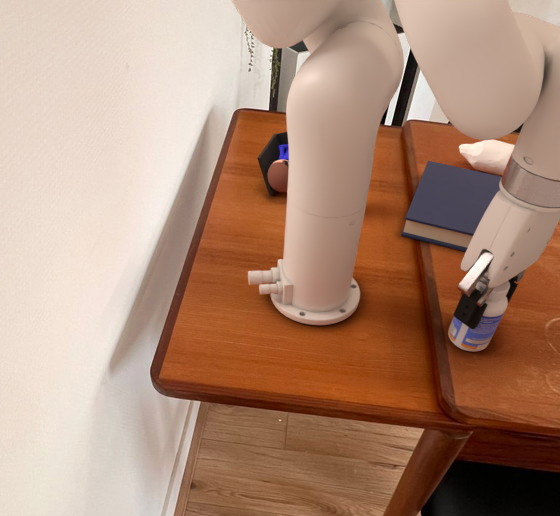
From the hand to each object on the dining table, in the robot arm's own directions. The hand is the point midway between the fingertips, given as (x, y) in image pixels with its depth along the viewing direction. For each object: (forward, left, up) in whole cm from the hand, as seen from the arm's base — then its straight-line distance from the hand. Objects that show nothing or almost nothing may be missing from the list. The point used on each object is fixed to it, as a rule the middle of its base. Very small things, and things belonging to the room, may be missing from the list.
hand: (480, 311), depth 66 cm
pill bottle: (0, 0, -5) cm, 5 cm away
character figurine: (-18, +42, -5) cm, 46 cm away
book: (+9, +29, -5) cm, 31 cm away
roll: (+21, +43, -5) cm, 48 cm away
